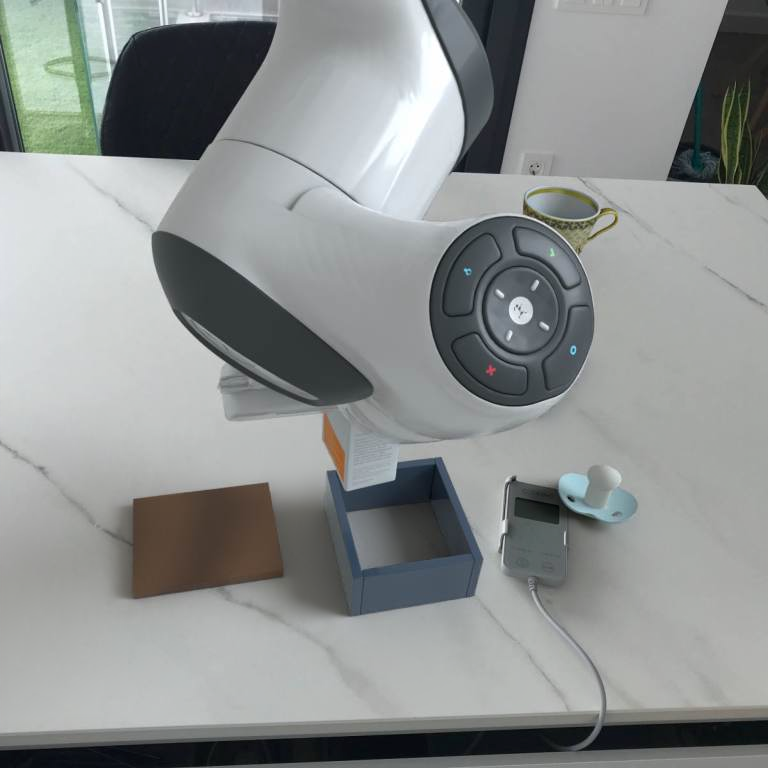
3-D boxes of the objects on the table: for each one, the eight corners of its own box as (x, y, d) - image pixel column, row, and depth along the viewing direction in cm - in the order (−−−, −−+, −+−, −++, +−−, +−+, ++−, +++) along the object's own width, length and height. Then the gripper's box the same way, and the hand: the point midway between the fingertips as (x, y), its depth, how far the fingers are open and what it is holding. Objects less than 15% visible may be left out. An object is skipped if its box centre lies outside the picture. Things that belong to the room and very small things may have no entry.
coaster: (134, 599, 62) (132, 592, 61) (134, 505, 69) (132, 498, 69) (283, 577, 65) (283, 569, 64) (268, 489, 72) (268, 481, 71)
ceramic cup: (516, 286, 103) (531, 218, 96) (505, 248, 110) (518, 182, 104) (611, 290, 104) (632, 223, 97) (593, 252, 111) (612, 188, 105)
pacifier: (562, 471, 77) (549, 512, 72) (577, 424, 73) (564, 463, 69) (636, 496, 75) (627, 539, 71) (655, 449, 71) (647, 491, 67)
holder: (350, 616, 62) (353, 579, 59) (324, 508, 71) (326, 470, 68) (474, 596, 65) (484, 559, 62) (435, 493, 73) (441, 456, 70)
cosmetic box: (319, 440, 62) (323, 316, 54) (369, 430, 63) (380, 307, 56) (344, 494, 57) (352, 368, 50) (397, 482, 59) (412, 357, 51)
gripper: (224, 441, 40) (219, 446, 54) (581, 403, 45) (495, 417, 59) (212, 322, 41) (211, 356, 54) (567, 297, 46) (485, 335, 59)
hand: (361, 388), depth 56 cm, fingers closed on cosmetic box, 4 cm apart
